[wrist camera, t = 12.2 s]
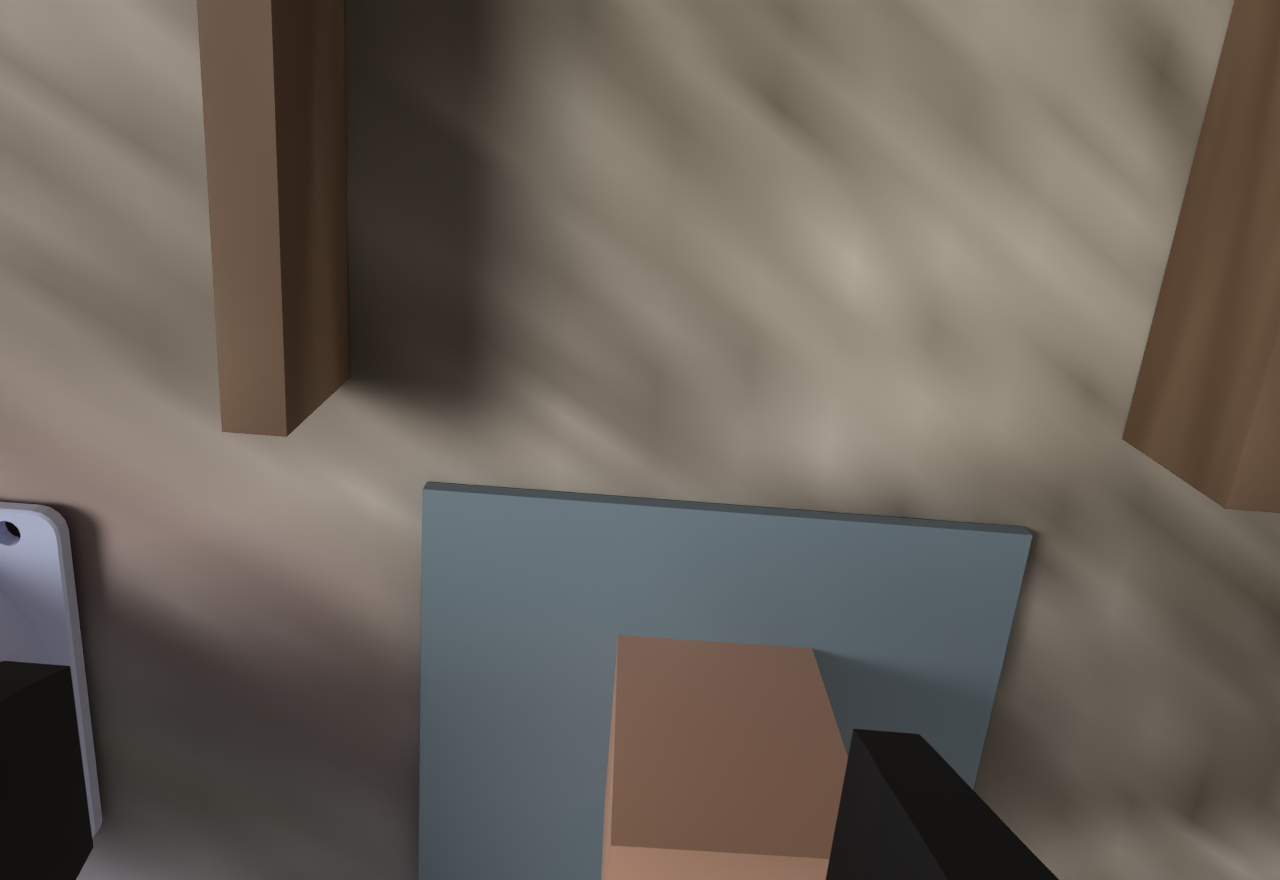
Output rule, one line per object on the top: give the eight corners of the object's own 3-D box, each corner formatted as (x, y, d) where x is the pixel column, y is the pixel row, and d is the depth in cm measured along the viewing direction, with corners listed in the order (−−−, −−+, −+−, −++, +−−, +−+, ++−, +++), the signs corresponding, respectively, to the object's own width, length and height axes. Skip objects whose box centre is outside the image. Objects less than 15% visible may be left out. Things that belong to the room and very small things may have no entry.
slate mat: (421, 884, 22) (417, 898, 22) (426, 481, 19) (422, 489, 19) (935, 917, 23) (940, 930, 22) (1025, 526, 20) (1032, 535, 19)
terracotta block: (605, 796, 21) (593, 1048, 15) (618, 634, 20) (611, 844, 14) (787, 807, 21) (842, 1062, 16) (812, 648, 20) (881, 861, 14)
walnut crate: (296, 374, 18) (222, 431, 15) (271, -396, 15) (165, -544, 11) (1171, 442, 19) (1286, 513, 16) (1371, -283, 15) (1578, -394, 12)
